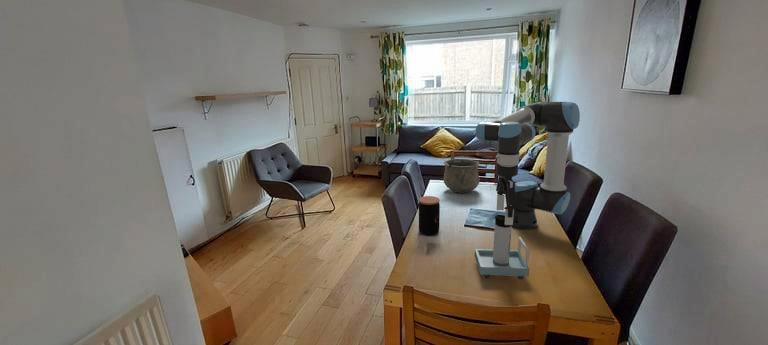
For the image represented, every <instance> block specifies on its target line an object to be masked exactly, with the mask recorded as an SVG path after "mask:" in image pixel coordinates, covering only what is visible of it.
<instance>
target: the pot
mask: <svg viewBox="0 0 768 345" xmlns="http://www.w3.org/2000/svg"><path fill="white" fill-rule="evenodd" d="M443 164H444V174H443V183H444V185H445V186H446V188H448V189H449V190H451V191H452V192H455V193H469V192H471V191H474V190H475V189H476V188H478V186H479V184H480V182H481V181H480V175H479V168H478V167H479V165H480V162H479V161H477V160H474V159H472V158H471V159H470V158H452V159H447V160H445V161H444V163H443Z"/></svg>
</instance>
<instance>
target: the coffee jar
mask: <svg viewBox="0 0 768 345" xmlns="http://www.w3.org/2000/svg"><path fill="white" fill-rule="evenodd" d="M440 201H441V200H440V198H439V197H438V196H437V197H436V196H433V195H425V196H420V197H419V198H418V231H419V233H420V234H421V235H423V236H428V237H431V236H432V237H433V236H436V235H437V234H438V233H439V232H440V217H441V213H440V211H441V210H440V208H441V205H440Z"/></svg>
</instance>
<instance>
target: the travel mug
mask: <svg viewBox="0 0 768 345" xmlns="http://www.w3.org/2000/svg"><path fill="white" fill-rule="evenodd" d="M494 220H495V222H494V231H493V235H494V236H493V247H492V249H493V262H494V263H495V264H496V265H499V266H506V265H508V264H509V256H510V250H511V243H512V241H511V240H512V229H513V226H512V225H505V214H497V215H494Z"/></svg>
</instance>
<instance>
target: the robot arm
mask: <svg viewBox="0 0 768 345" xmlns="http://www.w3.org/2000/svg"><path fill="white" fill-rule="evenodd" d="M580 113H581V112H580V108H579V106H578V104H577V103H575V102H572V101H571V102H570V101H537V102H533V103H529V104H526V105H524V106H521V107H519V108H518V109H516V111H515V112H512V113H510V114H508V115H504V116H502V117H500V118H498V119H495V120H492V121H489V122H487V121H480V122H479V123H478V124H477V125H476V127H475V131H474V132H475V137H476V139H478V140H479V141H480V140H481V141H484V142H496V143H497V155H496V156H495V158H496V163H497V164H496V170H495V171H496V172H495V173H496V174H497V176H498V180H497V182H496V183H497V184H496V189H495V191H496V193H497V195H496V210H495V211H504V210H505V211H504V212H505V214H504V215H505V225H512V228H513V227H514V228H516V229H521V230H531V229H535V228H537V226H538V219H537V215H536V211H535V210H538V211H543V212H547V213H551V214H555V215H562V214H563V213H564V212H565V211H566V209H567V208H568V206H569V204H570V200H571V193H570V192H569V191H567V186H566V185H565V183H564V181H565V175H566V166H567V155H568V148H569V147H568V146H569V138H570V135H571V134H573V133H574V130H575V129H577V128H578V127H579V124H580V121H581V120H580V119H581V114H580ZM534 126H535V127H544V131H545V133H546V134H547V143H546V144H547V145H546V157H545V166H544V176H543V177H544V178H543V182H542V183H541V184H540V185H539V184H538V183H537V182H536V181H532V180H524V181H523V180H522V181H516V182H515V181H514V180H513V177H516V176H518V174H519V163H520V149H521V148H520V146H522V145H524V144H529V143H530V142H532V141H533V140H534V139H535V137H536V134H537V133H536V129H535V127H534ZM538 185H539V186H538ZM505 204H506V206H505Z"/></svg>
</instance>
